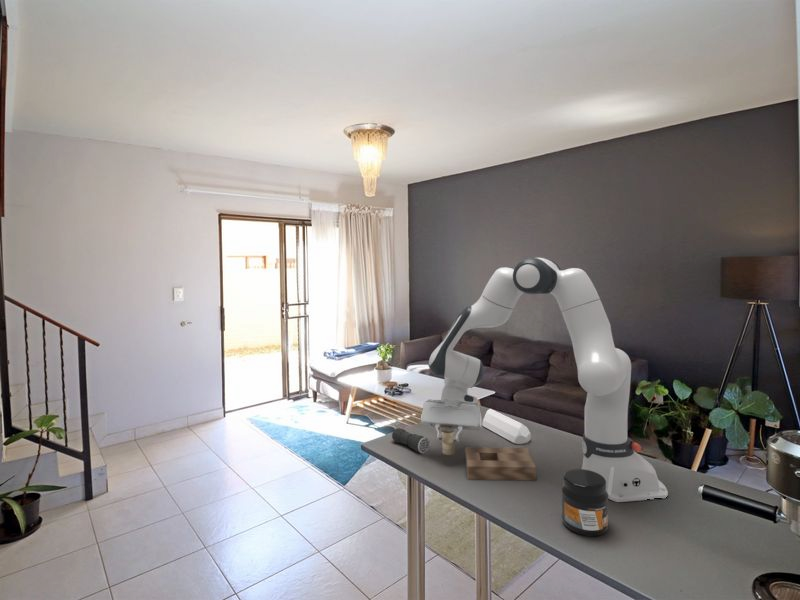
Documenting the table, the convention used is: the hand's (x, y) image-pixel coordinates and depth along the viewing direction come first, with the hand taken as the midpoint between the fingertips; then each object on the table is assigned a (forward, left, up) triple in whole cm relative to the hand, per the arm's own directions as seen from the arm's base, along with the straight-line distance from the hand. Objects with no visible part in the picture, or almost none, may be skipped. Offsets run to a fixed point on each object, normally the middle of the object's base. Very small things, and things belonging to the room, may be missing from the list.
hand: (447, 439), depth 139 cm
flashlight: (+13, -14, -9) cm, 22 cm away
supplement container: (-33, +31, -9) cm, 46 cm away
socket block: (-16, +2, -8) cm, 18 cm away
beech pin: (0, -1, -4) cm, 4 cm away
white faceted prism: (-22, -28, -9) cm, 36 cm away
